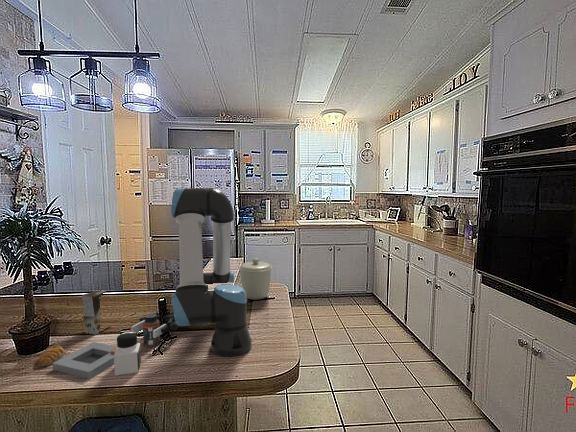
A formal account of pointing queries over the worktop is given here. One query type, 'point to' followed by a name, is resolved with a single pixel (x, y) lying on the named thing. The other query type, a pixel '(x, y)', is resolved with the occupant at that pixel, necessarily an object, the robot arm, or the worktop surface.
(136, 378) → the worktop surface
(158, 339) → the supplement bottle
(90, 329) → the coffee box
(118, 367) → the medicine bottle
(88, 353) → the socket plate
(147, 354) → the worktop surface
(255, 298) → the canister
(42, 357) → the pastry
